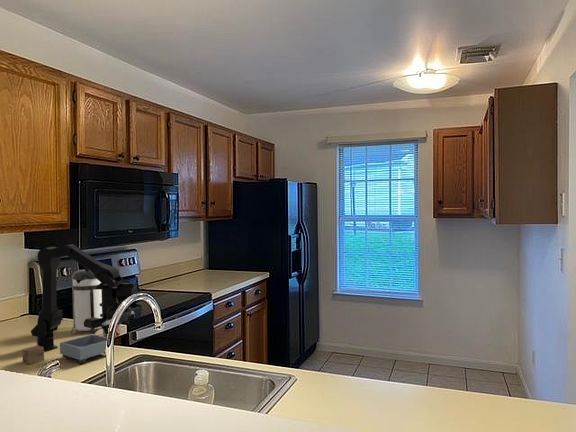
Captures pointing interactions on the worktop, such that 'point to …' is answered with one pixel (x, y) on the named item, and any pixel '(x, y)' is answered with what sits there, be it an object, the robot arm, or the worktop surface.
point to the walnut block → (33, 355)
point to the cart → (83, 347)
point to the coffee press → (85, 299)
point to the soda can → (116, 331)
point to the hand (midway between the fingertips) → (110, 340)
